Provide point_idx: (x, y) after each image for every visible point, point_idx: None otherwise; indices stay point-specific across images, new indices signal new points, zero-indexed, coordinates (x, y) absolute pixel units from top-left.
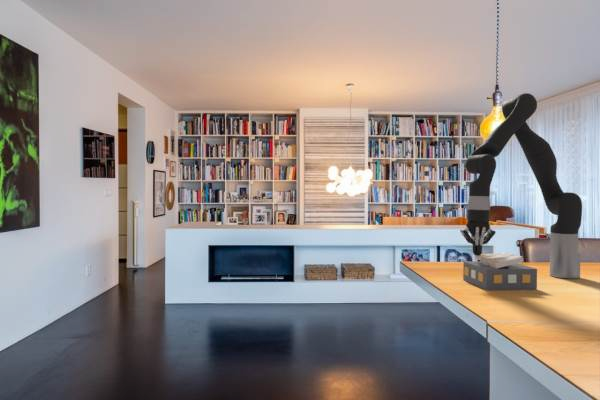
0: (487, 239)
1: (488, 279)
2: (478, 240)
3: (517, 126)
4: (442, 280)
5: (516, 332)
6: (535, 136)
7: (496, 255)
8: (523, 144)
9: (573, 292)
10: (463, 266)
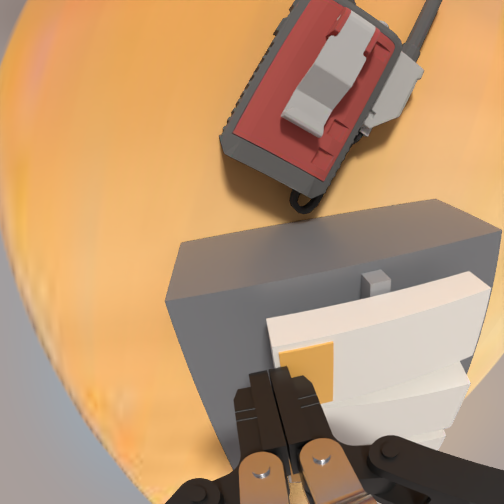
0: (401, 501)
1: None
2: (328, 491)
3: None
4: (70, 268)
5: None
6: None
7: (396, 399)
8: None
9: (473, 364)
10: (170, 281)
